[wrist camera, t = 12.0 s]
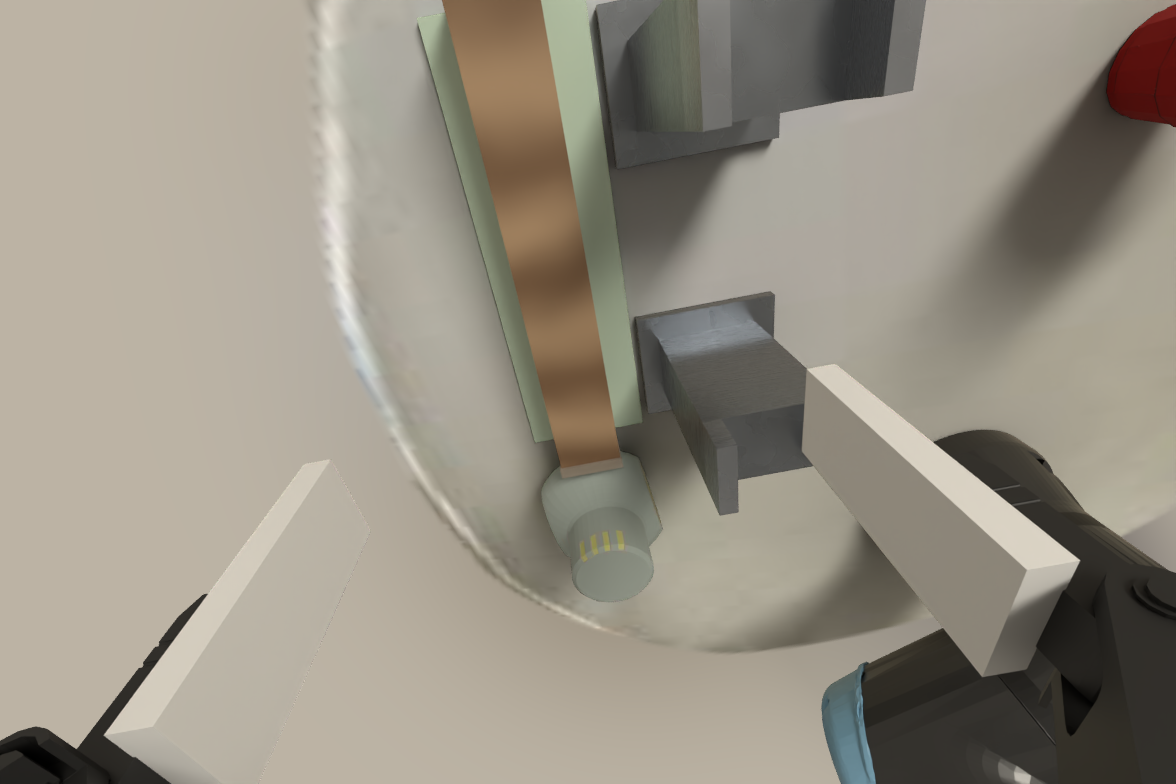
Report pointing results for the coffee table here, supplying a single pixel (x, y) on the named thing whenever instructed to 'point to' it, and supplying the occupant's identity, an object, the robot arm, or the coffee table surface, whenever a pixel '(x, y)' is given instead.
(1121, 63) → the plastic cup
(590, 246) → the mat
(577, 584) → the air freshener
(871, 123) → the coffee table surface
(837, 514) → the coffee table surface
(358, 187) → the coffee table surface
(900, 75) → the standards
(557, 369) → the rail
